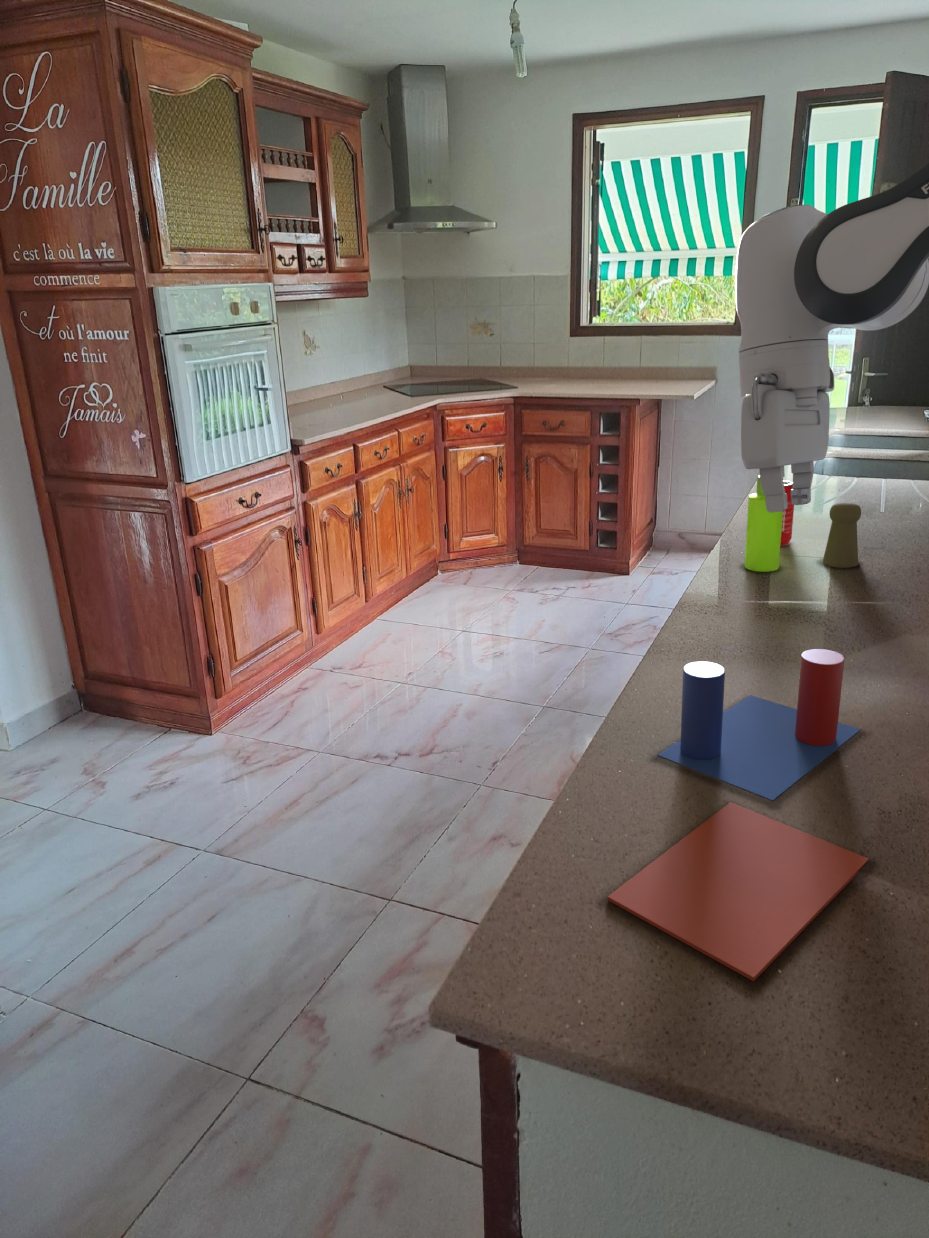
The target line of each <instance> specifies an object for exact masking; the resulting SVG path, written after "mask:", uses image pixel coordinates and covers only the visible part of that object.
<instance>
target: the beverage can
mask: <svg viewBox="0 0 929 1238" xmlns="http://www.w3.org/2000/svg"><path fill="white" fill-rule="evenodd" d="M783 481H784V490H785V494H786V493H787V509H786V510H784V511H783V516H782V530H781V543H780V547H784V546H788V545H789V544H790V542H791V540H792V538H793V537H792V536H793V527H794V526H793V525H794V524H793V523H794V513H795V505H793V504H792V502H791V489H793V480H787V479H783Z"/></svg>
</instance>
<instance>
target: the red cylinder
mask: <svg viewBox="0 0 929 1238" xmlns="http://www.w3.org/2000/svg"><path fill="white" fill-rule="evenodd" d="M844 669H845V656H844V655H843V654H841V653H839V652H838V651H834V650H830V649H824V648H813V649H808V650H805V651H803V652H802V653H801V657H800V669H799V680H798V681H799V682H798V690H797V691H798V694H797V703H796V704H797V705H796V709H797V715H796V726H795V736H796V738H797V739H798V740H799V741H801V742H803V743H806V744H809V745H814V746H827V745H830V744H833V743H834V742H835V741H836V736H837V726H838V722H839V718H840V717H839V716H840V705H841V697H842V687H843V678H844Z"/></svg>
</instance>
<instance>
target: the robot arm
mask: <svg viewBox="0 0 929 1238" xmlns="http://www.w3.org/2000/svg"><path fill="white" fill-rule="evenodd" d="M928 290H929V162H928V163H927V164H925V165H923V167H921V168H920V169H918V170H917V171H916V172H914V173H913V174H912V175H910V176H908V177H907V178H905V179H904V180H903V181H901V182H899V183H898V184H895V186H892V187H890V188H889V189H886V190H884V191H882V192H879V193H876V194H874V195H870V196H868V197H865V198H862V199H859V200H856V201H855V200H854V201H852V202H850V203H847V204H844V205H842V206H840V207H837V208H835V209H834V210H832V211H830V212H828V213H825V212H824V211H821V210H819V209H817V208H816V207H814V206H813V205H811V204H795V205H791V206H785V207H782V208H778V209H776V210H774V211H771V212H769V213H767V214H764V215H762V216H761V217H760V218H757V219H756V220H755V221H754V222H753V223H751V224H750V225H749V226H748V227H747V228H746V229H745V230H744V232H743V233H742V235H741V237H740V239H739V243H738V247H737V254H736V265H735V303H736V304H735V305H736V308H735V309H736V313H737V317H738V319H739V323H740V328H741V334H740V335H741V336H740V341H739V346H738V365H739V386H740V397H741V398H742V404H741V415H740V451H741V452H740V453H741V460H742V463H743V466H744V468H745V469H746V470H759V475H760V481H761V485H762V488H763V491H764V494H765V499H766V510H767V511H768V512H770V513H771V512H782V511H784V510H786V509H787V493H786V494H785V490H784V481H783V480H784V478H785V477H786V475H785V466H790V471H791V472H790V473H791V474H792V481H793V489H791V502H792V504H793V505H794V506H802V505H807V504H810V503H811V501H812V483H813V478H814V474H815V466H814V465H815V464H814V462H817V461H823V460H825V458H826V457H827V454H828V449H829V441H830V440H829V439H830V414H831V412H830V409H831V408H830V407H831V406H830V405H831V404H830V396H829V393H830V392H833V391H834V390H835V375H834V374H835V373H834V372H833V370H832V368H831V365H830V357H829V356H830V353H829V333H830V332H831V331H832V330H834V329H855V330H859V331H878V330H879V331H880V330H882V329H887V328H889V327H892V326H894V325H896V324H898V323H900V322H902V321H904V320H905V319H906V318H908V317H909V316H910V315H911V314H913V313H914V312H915V311H916V310H917V309H918V307H919V306H920V305H921V303H922V302H923V300H924V299H925V298H926V295H927V292H928Z"/></svg>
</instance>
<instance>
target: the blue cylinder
mask: <svg viewBox="0 0 929 1238" xmlns="http://www.w3.org/2000/svg"><path fill="white" fill-rule="evenodd" d="M725 678H726V669H725V667H723V666H722V665H721V664H718V663H716V662H712V661H705V660H704V661H703V660H702V661H701V660H700V661H692V662H688V663H687V664H685V665H684V666H683V668H682V689H681V690H682V691H681V718H680V719H681V723H680V740H681V746H680V749H681V752H682V753H683V754H684V755H686V756H688V757H690V758H693V759H699V760H708V759H713V758H716V757H717V756H719V754H720V753H721V738H722V719H723V713H724V698H725V697H724V696H725Z"/></svg>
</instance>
